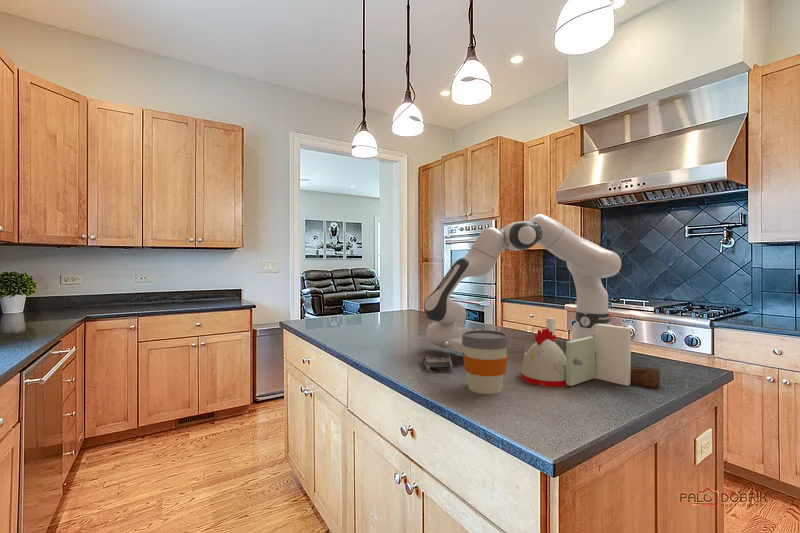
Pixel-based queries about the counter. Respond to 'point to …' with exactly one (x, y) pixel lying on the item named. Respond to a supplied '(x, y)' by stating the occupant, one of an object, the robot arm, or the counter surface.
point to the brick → (645, 376)
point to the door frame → (609, 352)
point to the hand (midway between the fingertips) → (492, 346)
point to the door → (580, 360)
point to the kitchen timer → (544, 362)
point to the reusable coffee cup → (485, 360)
